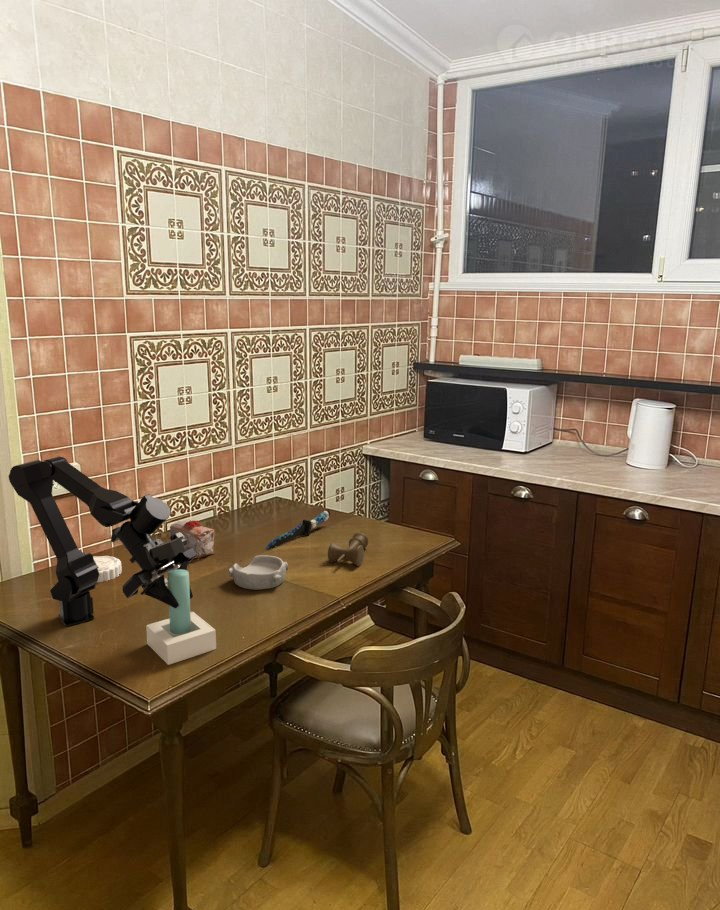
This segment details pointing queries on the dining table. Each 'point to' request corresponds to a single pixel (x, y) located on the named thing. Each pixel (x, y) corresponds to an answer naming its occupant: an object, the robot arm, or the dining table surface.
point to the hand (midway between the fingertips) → (184, 602)
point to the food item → (195, 536)
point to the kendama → (349, 550)
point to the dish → (260, 573)
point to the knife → (299, 530)
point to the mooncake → (107, 567)
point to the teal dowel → (179, 601)
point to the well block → (181, 640)
